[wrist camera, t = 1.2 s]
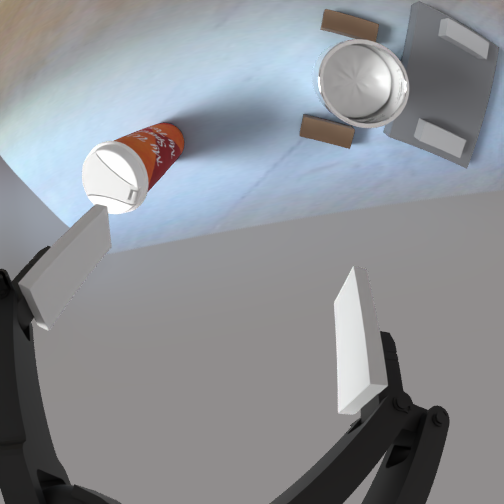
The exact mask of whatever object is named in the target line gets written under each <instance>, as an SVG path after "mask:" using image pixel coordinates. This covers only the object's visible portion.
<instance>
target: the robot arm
mask: <svg viewBox="0 0 504 504" xmlns="http://www.w3.org/2000/svg"><path fill="white" fill-rule="evenodd" d="M111 247H112V246H111V238H110V229H109V219H108V208H107V206H104V205H100V204H95V205H94V206H93V207H92V208H91V209H90V210H89V211H88V212H87V213H86V214H84V215H83V216H82V217H81V218H80V219H79V220H78V221H77V222H76V223H75V224H74V225H73V226H72V227H71V228H70V229H69V230H68V231H67V232H66V233H65V234H64V235H63V236H61V238H60V239H58V241H57V242H56V243H55V244H54V245H53V246H52V247H50V246H47V247H46V248H44V249H42V250H40V251H39V252H38V253H37V254H36V255H35V256H34V257H33V259H32V260H31V261H30V262H29V263H28V264H27V265H26V266H25V267H24V268H23V269H22V270H21V272H20V273H19V274H18V275H17V276H16V277H15V278H14V280H13V281H12V282H11V280H10V277H9V275H8V273H7V271H6V270H4V269H0V489H1V492H2V495H3V498H4V501H5V504H121V503H120V502H118V501H117V500H114V499H112V498H110V497H107V496H105V495H103V494H101V493H98V492H96V491H94V490H90V489H87V488H84V487H81V486H78V485H74V486H72V485H71V484H70V481H69V479H68V476H67V474H66V471H65V469H64V467H63V466H62V464H61V463H60V462H59V460H58V458H57V456H56V453H55V450H54V447H53V443H52V440H51V436H50V432H49V428H48V425H47V420H46V416H45V412H44V407H43V402H42V397H41V392H40V386H39V381H38V374H37V367H36V359H35V350H34V342H33V341H34V340H33V327H32V324H31V321H32V319H33V318H35V320H36V322H37V324H38V326H40V327H42V328H44V329H46V330H48V331H50V329H51V328H52V326H53V325H54V323H55V322H56V320H57V319H58V317H59V316H60V314H61V313H62V312H63V310H64V309H65V307H66V306H67V304H68V303H69V302H70V300H71V299H72V298H73V296H74V295H75V293H76V292H77V291H78V289H79V288H80V287H81V285H82V284H83V283H84V281H85V280H86V279H87V277H88V276H89V275H90V273H91V272H92V271H93V270H94V268H95V267H96V266H97V264H98V263H99V262H100V261H101V259H102V258H103V257H104V255H106V253H107V252H108V251H109V250H110V248H111ZM334 310H335V326H336V344H337V368H338V369H337V372H338V413H341V414H353V415H354V414H355V413H356V412H358V411H359V410H360V409H361V418H359V419H358V420H356V421H355V422H354V423H352V424H351V425H350V426H351V428H350V429H349V430H348V431H347V432H346V433H345V435H344V436H343V437H342V438H341V439H340V440H339V441H338V442H337V443H336V444H335V445H334V446H333V447H332V448H331V449H330V450H329V451H328V452H327V453H326V454H325V455H324V456H323V457H322V458H321V459H320V460H319V461H318V462H317V463H316V464H315V465H314V466H313V467H312V468H311V469H310V470H309V471H308V472H306V473H305V474H304V475H303V476H302V477H301V478H300V479H299V480H298V481H296V482H295V483H294V484H293V485H292V486H291V487H289V488H288V489H287V490H286V491H285V492H283V493H282V494H281V495H280V496H279V497H277V498H276V499H275V500H274V501H272V502H271V503H270V504H343V502H345V500H346V499H347V498H348V497H349V496H350V495H351V494H352V493H353V492H354V490H355V489H356V488H357V487H358V486H359V485H360V484H361V482H362V481H363V480H364V479H365V478H366V477H367V475H368V474H369V473H370V472H371V470H372V469H373V468H374V467H375V465H376V464H377V463H378V461H379V460H380V459H381V457H382V456H383V455H384V453H385V452H386V451H387V452H386V454H385V456H384V459H383V461H382V464H381V466H380V468H379V470H378V472H377V474H376V477H375V478H374V480H373V482H372V485H371V486H370V488H369V490H368V492H367V494H366V496H365V498H364V500H363V502H362V504H425V503H426V501H427V498H428V496H429V493H430V490H431V487H432V484H433V481H434V479H435V476H436V473H437V469H438V466H439V463H440V459H441V456H442V452H443V448H444V445H445V441H446V436H447V432H448V428H449V416H448V413H447V412H446V410H445V409H444V408H442V407H441V406H433V407H432V408H430V409H429V410H427V409H424V408H422V407H419V406H417V405H414V404H413V402H412V400H411V398H410V396H409V395H408V394H407V393H405V392H404V391H403V386H402V380H401V374H400V368H399V362H398V357H397V354H396V352H397V351H396V346H395V342H394V340H393V338H392V337H391V335H390V333H387V332H382V331H380V330H379V324H378V319H377V314H376V309H375V304H374V299H373V295H372V290H371V285H370V281H369V276H368V273H367V269H365V268H360V267H356V266H353V267H352V270H351V271H350V274H349V275H348V277H347V279H346V281H345V283H344V285H343V287H342V289H341V291H340V292H339V295H338V296H337V298H336V300H335V302H334Z"/></svg>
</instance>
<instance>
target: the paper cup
mask: <svg viewBox="0 0 504 504" xmlns="http://www.w3.org/2000/svg"><path fill="white" fill-rule="evenodd" d="M183 149H184V138H183V135H182V133H181V131H180V130H179V129H178V128H177V127H176V126H174V125H172V124H169V123H160V124H156V125H153V126H150V127H147V128H144V129H142V130H139V131H136V132H134V133H131V134H129V135H126V136H124V137H121V138H119V139H117V140H114V141H106V142H103V143H100V144H98V145H97V146H95V147H94V148H93V149H92V150H91V152H90V153H89V155H88V156H87V157H86V160H85V161H84V164H83V168H82V182H83V186H84V189H85V191H86V194H87V196H88V198H89V199H90V200H91V202H92V203H93V204H94V205H95V204H100V205H104V206H107V208H108V213H110V214H121V213H125V212H130V211H133V210H135V209H136V208H138V207H139V206H140V205H141V204H142V203H143V201H144V200H145V198H146V195H147V192H148V191H149V190H150V189H151V188H152V187H153V186H154V185H155V183H156V182H157V181H158V180H159V179H160V178H161V177H162V176H163V175H164V174H165V172H166V171H167V170H168V169H169V168H170V166H171V165H172V164H173V163H174V162H175V161H176V160H177V159H178V157H179V156H180V155H181V153H182V151H183Z"/></svg>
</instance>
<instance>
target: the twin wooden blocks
mask: <svg viewBox="0 0 504 504" xmlns="http://www.w3.org/2000/svg"><path fill="white" fill-rule="evenodd" d="M378 27H379V24H376V23H373V22H370V21H367V20H364V19H361V18H357V17H354V16H351V15H347V14H343V13H340V12H336V11H332V10H328V9H325V11H324V14H323V20H322V25H321V30H325V31H329V32H333V33H337V34H340V35H344V36H348V37H351V38H355V39H365V40H370V41H374V42H376V38H377V32H378ZM354 132H355V129H354V128H353V127H352V126H348V125H345V124H341V123H338V122H334V121H330V120H326V119H322V118H318V117H314V116H309V115H305V114H303V119H302V124H301V128H300V136H301V137H305V138H310V139H314V140H318V141H322V142H326V143H330V144H334V145H338V146H341V147H345V148H349V149H350V147H351V143H352V139H353V136H354Z"/></svg>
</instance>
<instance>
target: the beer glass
mask: <svg viewBox="0 0 504 504" xmlns="http://www.w3.org/2000/svg"><path fill="white" fill-rule="evenodd" d="M312 84H313V88H314V91H315V94H316V96H317V98H318V99H319V101H320V102H321V103H322V105H323V106H324V107H325V108H326V109H327V110H328V111H329V112H331V113H332V114H333V115H335V116H336V117H338V118H339V119H341V120H342V121H344V122H346V123H348V124H350V125H353V126H356V127H361V128H376V127H381V126H384V125H386V124H388V123H390V122H392V121H393V120H394V119H396V118H397V117H398V116H399V115H400V114H401V112H402V111H403V109H404V108H405V106H406V103H407V101H408V97H409V80H408V76H407V73H406V70H405V68H404V66H403V64H402V63H401V61H400V60H399V59H398V57H397V56H396V55H395V54H394V53H393V52H392V51H390V50H389V49H388V48H386V47H385V46H383V45H381V44H379V43H376V42H374V41H370V40H365V39H353V40H348V41H343V42H339V43H336V44H334V45H332V46H330V47H328V48H327V49H325V50H324V51H323V52H322V53H321V54H320V55H319V57H318V58H317V60H316V62H315V64H314V66H313V70H312Z"/></svg>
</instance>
